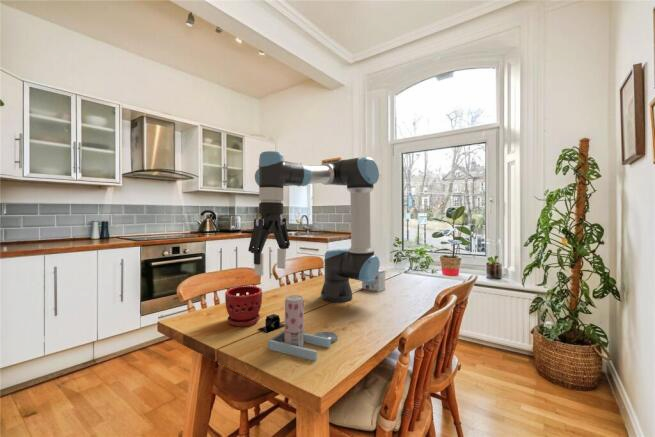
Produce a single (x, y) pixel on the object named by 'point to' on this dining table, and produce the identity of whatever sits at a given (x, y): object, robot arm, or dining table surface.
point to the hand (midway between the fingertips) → (270, 271)
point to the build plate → (272, 324)
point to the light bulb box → (376, 282)
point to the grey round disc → (328, 336)
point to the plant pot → (243, 305)
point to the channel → (296, 350)
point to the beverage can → (294, 320)
